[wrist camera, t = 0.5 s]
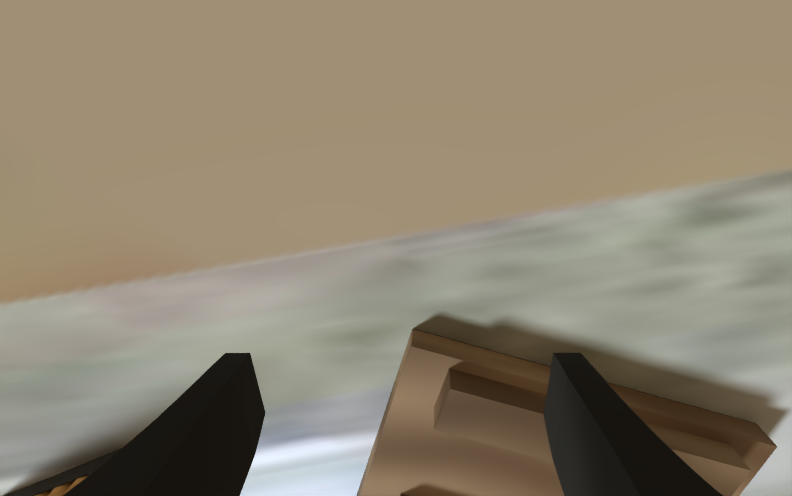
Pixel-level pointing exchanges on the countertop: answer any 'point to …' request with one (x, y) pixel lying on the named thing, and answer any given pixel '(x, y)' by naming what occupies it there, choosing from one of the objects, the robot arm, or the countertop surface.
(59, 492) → the ammunition clip
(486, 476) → the cradle block
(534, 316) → the countertop surface
